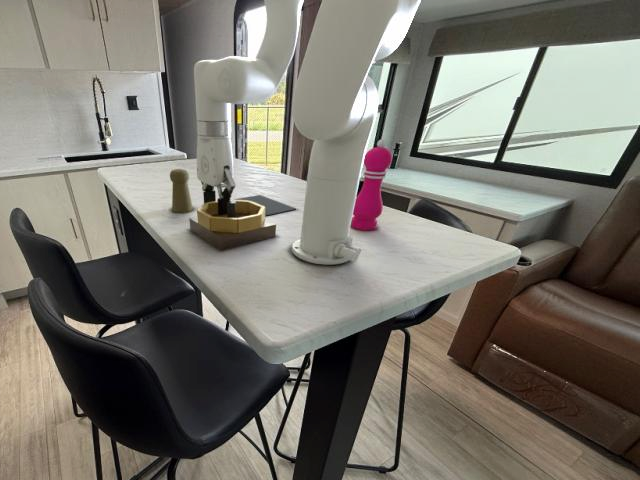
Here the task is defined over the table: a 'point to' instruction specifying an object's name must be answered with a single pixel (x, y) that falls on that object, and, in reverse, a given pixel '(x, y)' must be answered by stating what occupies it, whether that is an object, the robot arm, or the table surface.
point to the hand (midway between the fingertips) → (216, 209)
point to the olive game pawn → (180, 191)
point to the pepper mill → (371, 188)
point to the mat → (269, 205)
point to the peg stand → (233, 239)
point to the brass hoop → (232, 223)
